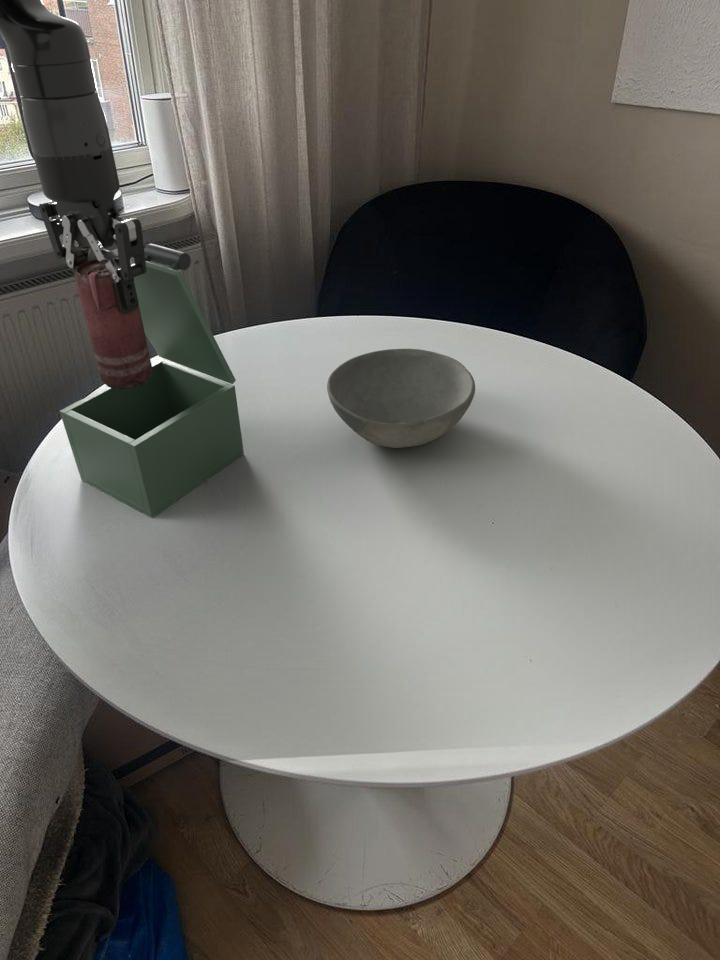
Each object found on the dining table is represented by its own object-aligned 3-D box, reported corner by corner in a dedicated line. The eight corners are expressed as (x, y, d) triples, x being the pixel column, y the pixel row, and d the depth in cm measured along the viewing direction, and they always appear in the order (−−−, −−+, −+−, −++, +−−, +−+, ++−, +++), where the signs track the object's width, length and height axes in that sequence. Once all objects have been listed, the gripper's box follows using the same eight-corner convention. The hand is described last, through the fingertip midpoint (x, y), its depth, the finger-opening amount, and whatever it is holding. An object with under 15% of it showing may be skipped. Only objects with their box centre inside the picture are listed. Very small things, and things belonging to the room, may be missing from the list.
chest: (152, 518, 88) (134, 446, 82) (81, 480, 95) (59, 410, 88) (244, 453, 100) (234, 385, 93) (174, 423, 106) (161, 357, 99)
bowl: (483, 468, 96) (489, 418, 91) (330, 474, 95) (327, 424, 91) (458, 389, 113) (462, 344, 108) (327, 394, 112) (325, 349, 107)
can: (96, 393, 83) (65, 278, 75) (107, 367, 88) (79, 257, 80) (148, 390, 83) (124, 275, 75) (156, 365, 89) (134, 255, 80)
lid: (176, 275, 78) (206, 245, 80) (94, 251, 85) (124, 224, 87) (232, 384, 92) (256, 356, 95) (159, 356, 99) (183, 331, 101)
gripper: (-6, 142, 71) (42, 301, 81) (86, 161, 64) (125, 332, 74) (58, 129, 76) (95, 280, 86) (149, 145, 69) (178, 307, 79)
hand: (109, 303), depth 80 cm, fingers closed on can, 6 cm apart
